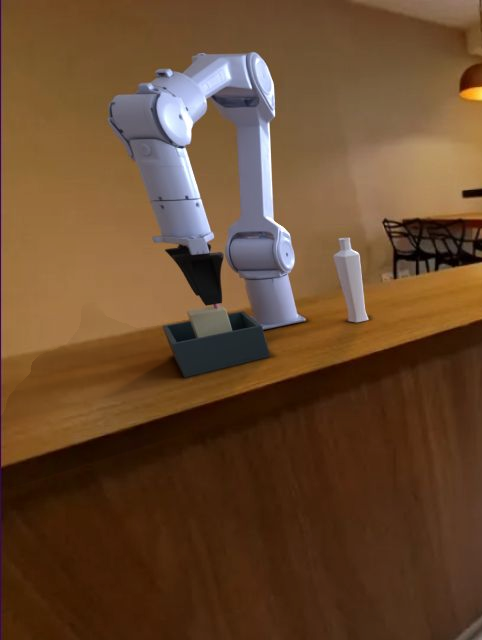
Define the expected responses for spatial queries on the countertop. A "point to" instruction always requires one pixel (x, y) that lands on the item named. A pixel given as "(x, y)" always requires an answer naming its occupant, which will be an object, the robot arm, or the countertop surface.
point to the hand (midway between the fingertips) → (208, 299)
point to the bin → (217, 345)
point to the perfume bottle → (351, 280)
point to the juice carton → (209, 321)
